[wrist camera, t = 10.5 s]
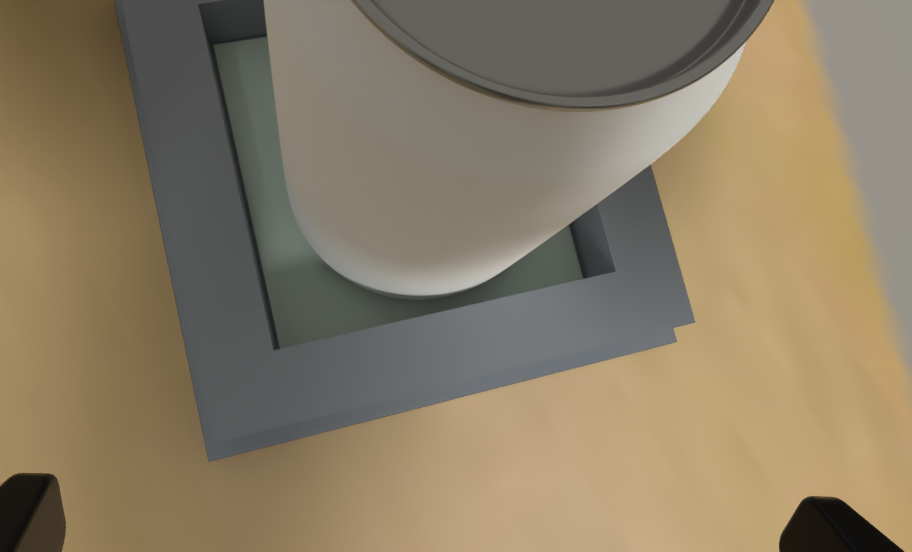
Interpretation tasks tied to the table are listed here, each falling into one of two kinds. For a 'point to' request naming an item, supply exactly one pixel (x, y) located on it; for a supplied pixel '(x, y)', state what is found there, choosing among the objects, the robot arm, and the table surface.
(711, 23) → the can
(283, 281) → the holder
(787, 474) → the table surface
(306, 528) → the table surface
